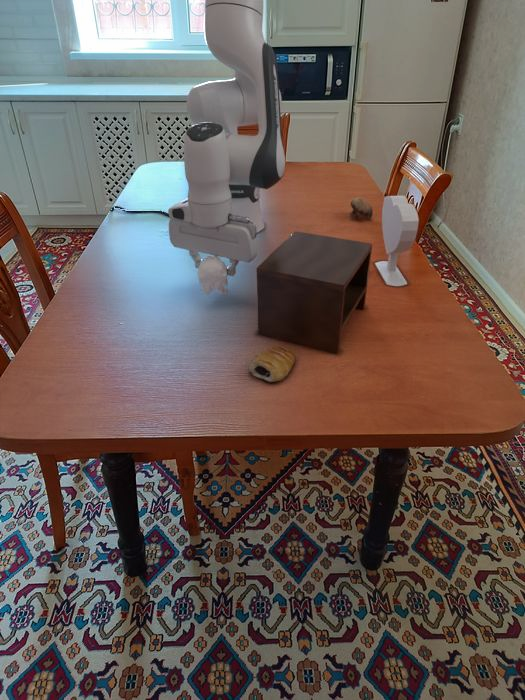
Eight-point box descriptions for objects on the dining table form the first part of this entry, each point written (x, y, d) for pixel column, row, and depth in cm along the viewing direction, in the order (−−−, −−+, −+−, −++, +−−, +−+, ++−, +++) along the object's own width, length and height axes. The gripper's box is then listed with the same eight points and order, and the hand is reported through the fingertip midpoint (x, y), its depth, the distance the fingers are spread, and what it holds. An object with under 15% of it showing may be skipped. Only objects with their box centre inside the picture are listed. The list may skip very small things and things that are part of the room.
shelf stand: (258, 334, 100) (256, 267, 91) (293, 291, 114) (294, 230, 105) (337, 354, 94) (344, 285, 85) (364, 307, 108) (372, 243, 99)
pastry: (274, 349, 95) (274, 333, 93) (304, 361, 92) (305, 345, 90) (246, 374, 89) (245, 358, 87) (277, 388, 86) (277, 371, 84)
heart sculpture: (410, 287, 115) (424, 213, 104) (389, 288, 114) (400, 214, 104) (391, 258, 127) (402, 189, 117) (372, 259, 127) (381, 190, 116)
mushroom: (341, 209, 147) (354, 192, 145) (346, 211, 155) (359, 194, 152) (361, 226, 146) (375, 209, 144) (365, 227, 154) (378, 211, 151)
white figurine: (195, 262, 101) (200, 243, 111) (198, 300, 105) (203, 277, 115) (226, 261, 101) (228, 242, 111) (228, 299, 105) (229, 277, 115)
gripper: (262, 213, 99) (263, 274, 107) (178, 198, 106) (184, 257, 114) (248, 224, 94) (250, 287, 102) (161, 208, 101) (169, 268, 110)
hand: (215, 271), depth 108 cm, fingers closed on white figurine, 6 cm apart
